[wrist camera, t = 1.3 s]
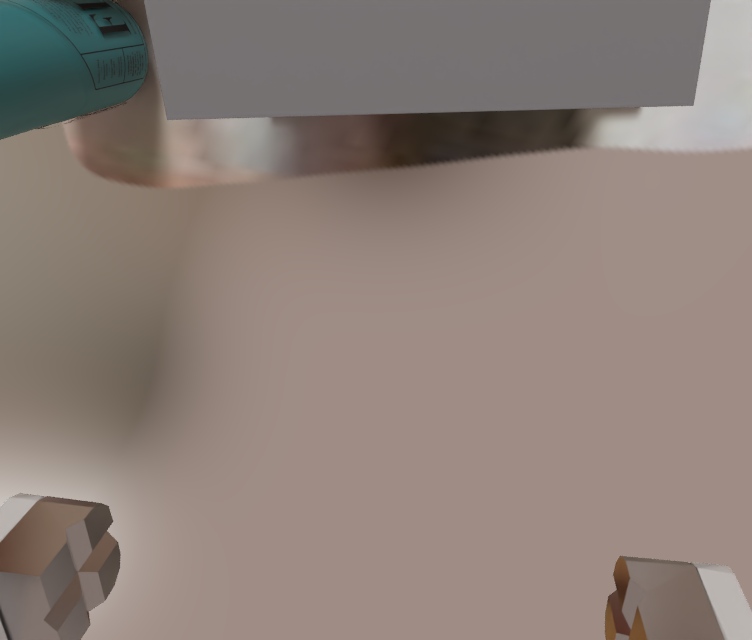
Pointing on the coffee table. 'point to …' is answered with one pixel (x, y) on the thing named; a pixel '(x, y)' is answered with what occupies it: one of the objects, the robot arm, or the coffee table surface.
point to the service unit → (422, 55)
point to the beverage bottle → (65, 60)
